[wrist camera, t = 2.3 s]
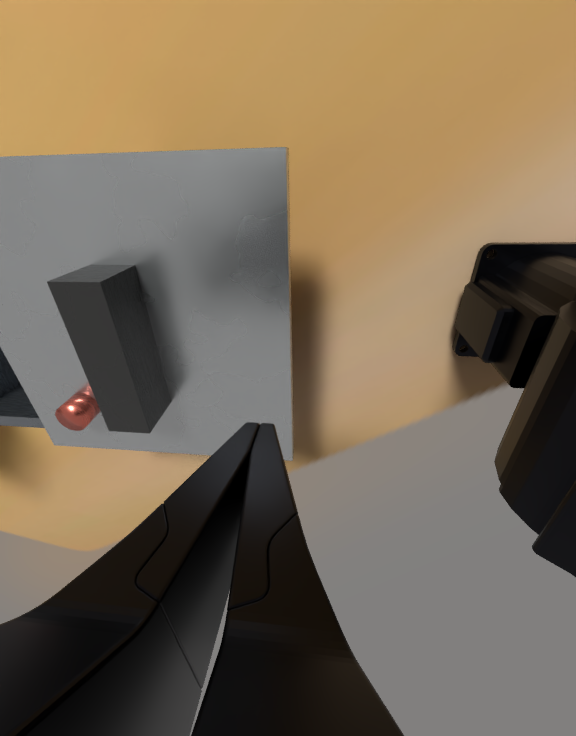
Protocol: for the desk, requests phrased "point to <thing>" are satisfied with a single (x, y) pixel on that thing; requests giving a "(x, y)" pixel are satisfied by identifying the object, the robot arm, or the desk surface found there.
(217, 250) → the lid
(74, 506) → the desk surface
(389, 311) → the desk surface
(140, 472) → the desk surface
